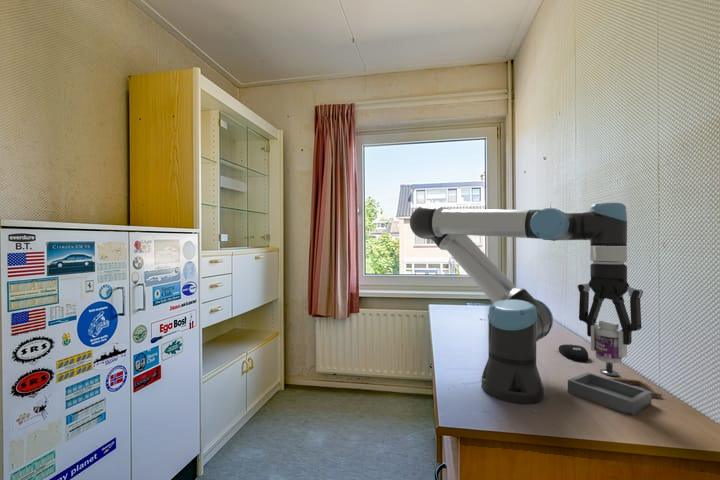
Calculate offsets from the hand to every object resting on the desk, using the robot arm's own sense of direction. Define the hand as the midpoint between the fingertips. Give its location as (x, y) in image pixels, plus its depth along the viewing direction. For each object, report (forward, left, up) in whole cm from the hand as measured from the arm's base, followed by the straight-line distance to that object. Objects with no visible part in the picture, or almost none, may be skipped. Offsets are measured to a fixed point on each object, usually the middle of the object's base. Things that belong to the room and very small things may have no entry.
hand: (608, 352), depth 83 cm
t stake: (+19, +7, -11) cm, 23 cm away
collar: (+12, -1, -11) cm, 17 cm away
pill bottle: (0, 0, -2) cm, 2 cm away
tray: (0, 0, -11) cm, 11 cm away
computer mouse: (+26, +21, -12) cm, 35 cm away
